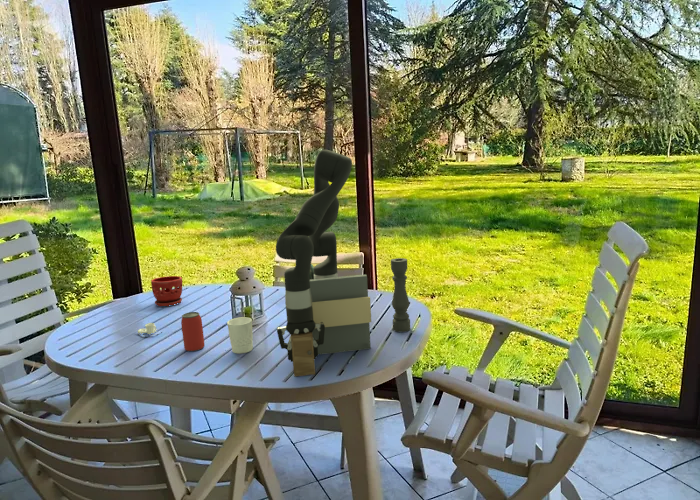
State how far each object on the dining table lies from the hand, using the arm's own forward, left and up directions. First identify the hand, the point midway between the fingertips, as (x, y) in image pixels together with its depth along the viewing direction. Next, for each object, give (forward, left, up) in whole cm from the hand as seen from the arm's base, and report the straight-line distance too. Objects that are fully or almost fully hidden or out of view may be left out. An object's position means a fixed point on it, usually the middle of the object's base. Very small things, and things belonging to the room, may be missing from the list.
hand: (303, 359), depth 142 cm
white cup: (-29, +3, -4) cm, 30 cm away
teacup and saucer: (-76, -1, -4) cm, 76 cm away
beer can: (-45, -4, -4) cm, 46 cm away
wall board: (-2, +16, -4) cm, 17 cm away
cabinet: (0, 0, -4) cm, 4 cm away
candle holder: (+8, +44, -4) cm, 44 cm away
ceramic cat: (-50, +62, -4) cm, 80 cm away
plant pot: (-102, +25, -4) cm, 105 cm away
